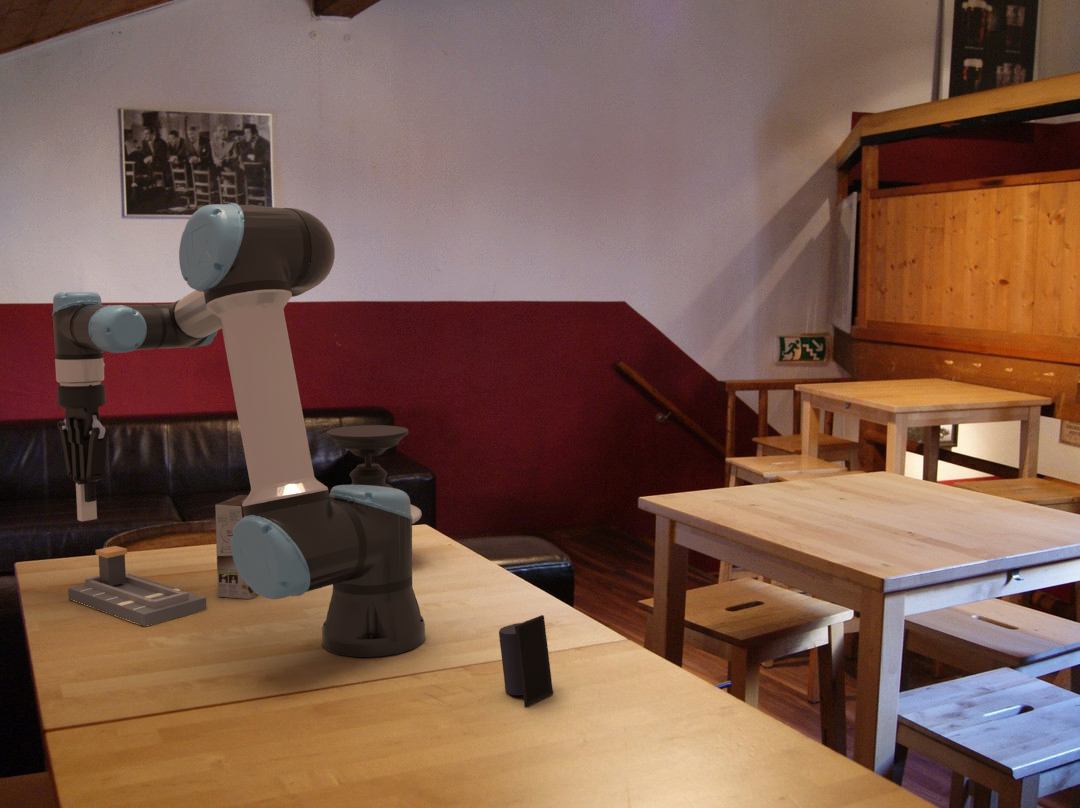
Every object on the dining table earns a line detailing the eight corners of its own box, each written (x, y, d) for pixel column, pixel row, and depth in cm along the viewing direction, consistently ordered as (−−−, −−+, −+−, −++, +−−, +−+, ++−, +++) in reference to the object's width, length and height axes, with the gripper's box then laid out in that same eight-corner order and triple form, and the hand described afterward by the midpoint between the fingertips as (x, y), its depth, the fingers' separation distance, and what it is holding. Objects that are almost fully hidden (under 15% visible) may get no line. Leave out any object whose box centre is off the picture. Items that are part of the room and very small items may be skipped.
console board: (206, 609, 170) (205, 590, 169) (144, 627, 161) (144, 606, 161) (129, 584, 184) (128, 567, 183) (68, 599, 175) (67, 581, 175)
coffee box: (252, 599, 175) (248, 505, 173) (216, 597, 176) (213, 503, 174) (276, 584, 184) (273, 494, 182) (242, 582, 185) (239, 493, 183)
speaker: (565, 696, 133) (557, 616, 133) (525, 708, 130) (517, 626, 130) (535, 682, 140) (528, 606, 139) (497, 693, 137) (489, 615, 136)
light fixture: (314, 554, 204) (310, 425, 201) (413, 547, 209) (411, 421, 206) (322, 582, 185) (318, 440, 182) (430, 573, 190) (428, 435, 188)
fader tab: (128, 582, 177) (127, 549, 176) (108, 587, 174) (107, 553, 173) (117, 578, 179) (115, 545, 178) (97, 583, 176) (95, 550, 175)
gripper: (122, 384, 176) (128, 521, 179) (82, 379, 184) (88, 510, 187) (79, 387, 170) (86, 529, 173) (39, 382, 178) (47, 517, 181)
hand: (87, 519), depth 180 cm, fingers closed
